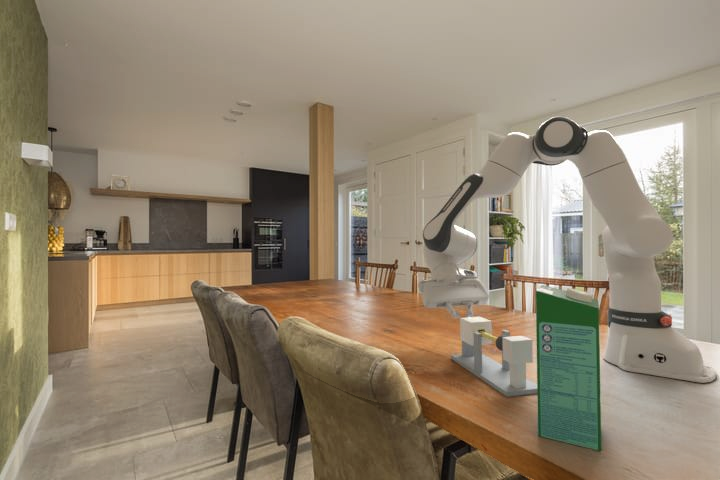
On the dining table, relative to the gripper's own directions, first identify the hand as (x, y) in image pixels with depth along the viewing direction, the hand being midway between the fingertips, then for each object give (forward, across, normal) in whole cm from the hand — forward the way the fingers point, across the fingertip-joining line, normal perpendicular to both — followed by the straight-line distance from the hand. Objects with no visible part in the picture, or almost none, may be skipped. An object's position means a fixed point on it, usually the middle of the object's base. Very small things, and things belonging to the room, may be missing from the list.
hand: (463, 317), depth 105 cm
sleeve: (+8, 0, -1) cm, 8 cm away
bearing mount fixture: (+18, 0, -2) cm, 18 cm away
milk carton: (+38, -2, -21) cm, 43 cm away
